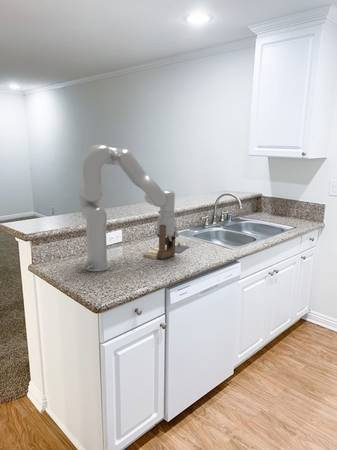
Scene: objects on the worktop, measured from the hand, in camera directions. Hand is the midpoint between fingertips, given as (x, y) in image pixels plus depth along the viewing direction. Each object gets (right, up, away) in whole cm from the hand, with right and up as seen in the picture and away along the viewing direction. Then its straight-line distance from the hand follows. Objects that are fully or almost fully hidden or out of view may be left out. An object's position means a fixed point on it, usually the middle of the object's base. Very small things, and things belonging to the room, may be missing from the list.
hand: (166, 246), depth 187 cm
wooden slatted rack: (-2, -3, +13) cm, 13 cm away
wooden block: (0, -6, +2) cm, 6 cm away
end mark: (+8, -3, +16) cm, 19 cm away
